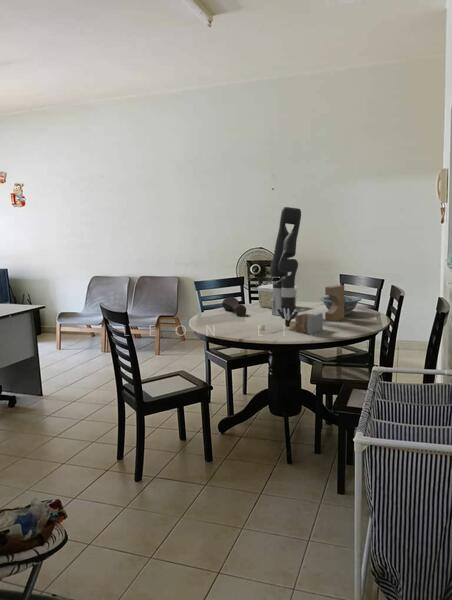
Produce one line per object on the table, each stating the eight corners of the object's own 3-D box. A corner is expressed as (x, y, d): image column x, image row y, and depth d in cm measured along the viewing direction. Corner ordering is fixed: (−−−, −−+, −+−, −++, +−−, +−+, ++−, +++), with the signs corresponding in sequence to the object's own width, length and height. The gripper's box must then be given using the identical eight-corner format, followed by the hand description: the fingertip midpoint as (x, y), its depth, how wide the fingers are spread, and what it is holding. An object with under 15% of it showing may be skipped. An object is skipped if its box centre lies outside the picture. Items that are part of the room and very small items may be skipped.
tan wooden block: (289, 329, 261) (289, 322, 260) (293, 328, 264) (293, 321, 264) (306, 331, 255) (306, 324, 254) (309, 330, 258) (309, 323, 258)
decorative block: (331, 321, 279) (331, 287, 275) (324, 320, 283) (324, 286, 280) (344, 319, 285) (345, 285, 282) (337, 317, 289) (337, 284, 286)
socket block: (295, 331, 256) (295, 316, 255) (304, 327, 264) (304, 313, 263) (309, 332, 251) (309, 317, 250) (317, 329, 259) (317, 314, 258)
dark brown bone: (225, 312, 332) (239, 324, 306) (218, 300, 328) (231, 311, 302) (238, 304, 333) (253, 315, 307) (232, 291, 329) (245, 302, 303)
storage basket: (298, 306, 332) (298, 285, 330) (285, 310, 320) (285, 288, 318) (270, 303, 348) (269, 283, 345) (256, 307, 336) (256, 286, 333)
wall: (307, 334, 250) (307, 317, 248) (319, 328, 261) (319, 312, 259) (310, 334, 249) (310, 317, 247) (322, 329, 260) (322, 312, 258)
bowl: (369, 312, 302) (369, 297, 300) (345, 318, 285) (345, 303, 284) (335, 308, 320) (336, 294, 319) (312, 314, 304) (312, 299, 302)
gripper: (274, 295, 262) (274, 326, 265) (295, 297, 254) (295, 329, 257) (281, 293, 268) (281, 324, 271) (302, 295, 260) (302, 326, 263)
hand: (288, 326), depth 264 cm, fingers closed
